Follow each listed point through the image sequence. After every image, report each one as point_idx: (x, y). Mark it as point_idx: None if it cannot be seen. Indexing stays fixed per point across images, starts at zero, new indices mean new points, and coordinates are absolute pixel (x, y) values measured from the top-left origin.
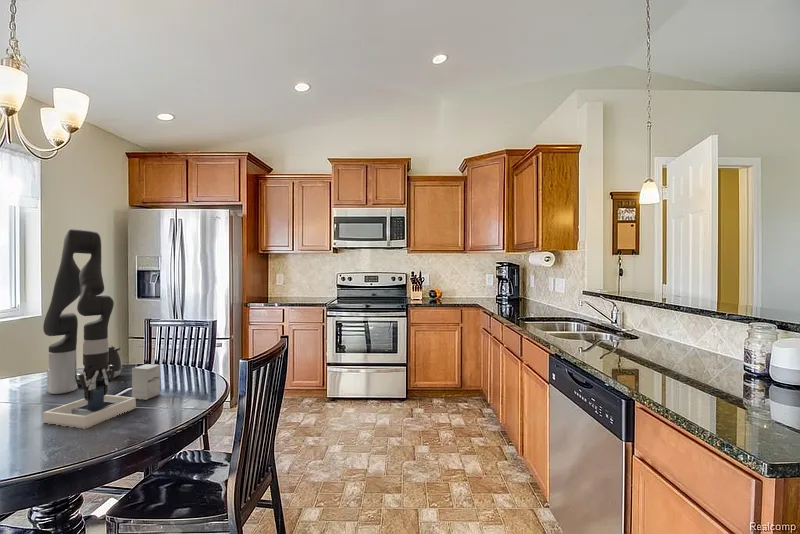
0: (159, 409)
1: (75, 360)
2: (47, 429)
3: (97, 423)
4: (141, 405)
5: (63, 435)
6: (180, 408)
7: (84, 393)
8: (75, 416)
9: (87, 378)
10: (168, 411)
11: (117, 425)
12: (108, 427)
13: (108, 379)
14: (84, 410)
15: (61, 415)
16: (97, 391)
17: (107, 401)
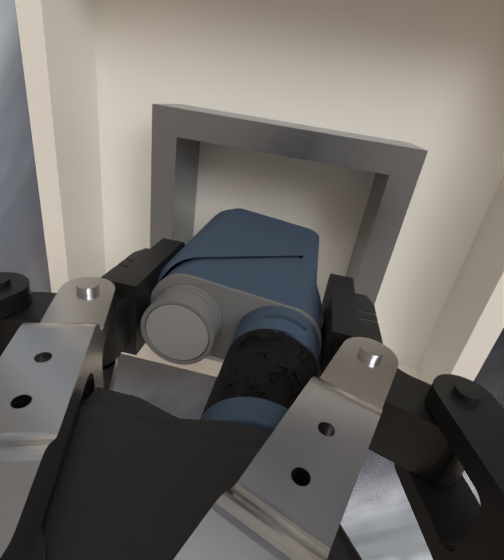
0: (392, 486)
1: None
2: (25, 84)
3: None
4: (481, 383)
5: (13, 256)
6: (401, 551)
7: (107, 275)
8: (51, 269)
9: (35, 393)
10: (360, 522)
11: (172, 409)
12: (144, 387)
13: (401, 463)
14: (152, 244)
15: (38, 138)
16: (214, 349)
17: (368, 276)
